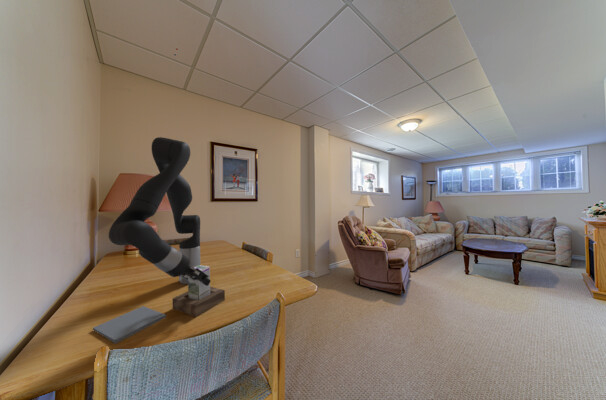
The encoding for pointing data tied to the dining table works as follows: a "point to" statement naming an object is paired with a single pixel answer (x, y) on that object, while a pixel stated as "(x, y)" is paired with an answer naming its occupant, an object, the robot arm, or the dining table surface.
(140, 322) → the mat
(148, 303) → the dining table surface
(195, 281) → the syrup box
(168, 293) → the dining table surface
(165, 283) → the dining table surface
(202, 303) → the socket block
